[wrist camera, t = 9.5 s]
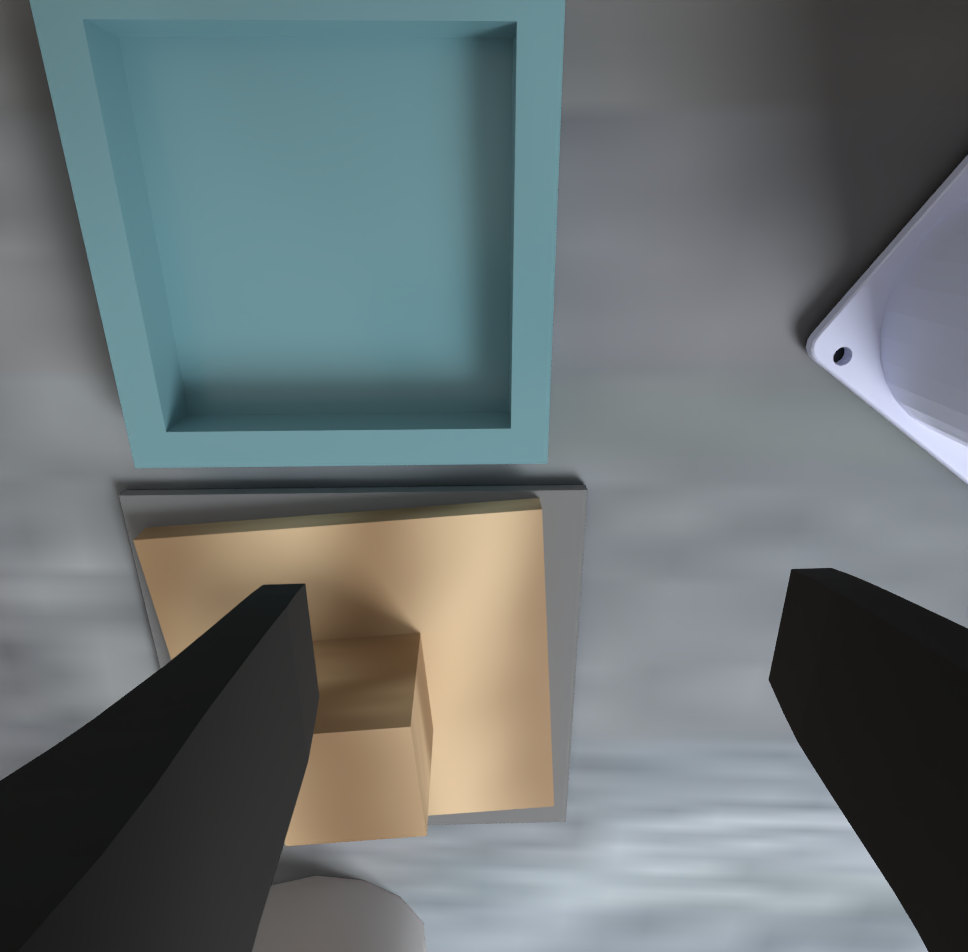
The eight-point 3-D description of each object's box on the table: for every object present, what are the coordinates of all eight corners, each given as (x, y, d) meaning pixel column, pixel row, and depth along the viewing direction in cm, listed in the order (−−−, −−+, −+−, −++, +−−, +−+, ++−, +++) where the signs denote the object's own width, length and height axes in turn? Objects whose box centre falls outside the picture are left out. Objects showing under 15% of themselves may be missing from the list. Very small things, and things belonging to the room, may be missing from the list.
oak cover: (539, 498, 20) (560, 582, 15) (551, 787, 24) (570, 918, 20) (145, 527, 20) (52, 621, 15) (233, 811, 24) (181, 946, 20)
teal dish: (554, -7, 15) (566, -37, 13) (539, 438, 19) (547, 463, 17) (75, -10, 15) (20, -41, 13) (167, 442, 19) (134, 468, 17)
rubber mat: (585, 484, 20) (587, 489, 20) (564, 812, 25) (565, 821, 25) (125, 490, 20) (118, 495, 19) (203, 821, 25) (199, 830, 25)
